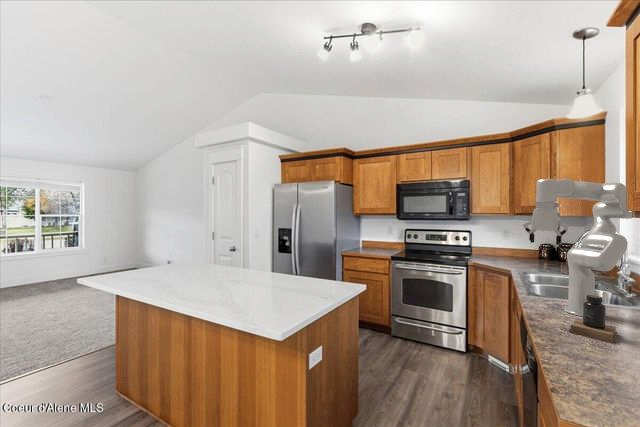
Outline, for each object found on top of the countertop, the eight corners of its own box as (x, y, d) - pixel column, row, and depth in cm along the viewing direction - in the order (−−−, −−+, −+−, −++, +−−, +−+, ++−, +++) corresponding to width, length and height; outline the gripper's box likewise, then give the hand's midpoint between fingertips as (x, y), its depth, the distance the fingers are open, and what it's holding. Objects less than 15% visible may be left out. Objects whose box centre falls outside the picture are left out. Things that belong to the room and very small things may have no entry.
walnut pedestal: (575, 324, 131) (575, 317, 130) (617, 334, 121) (617, 327, 121) (568, 332, 122) (569, 324, 122) (613, 343, 112) (613, 335, 112)
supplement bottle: (609, 330, 117) (610, 299, 117) (589, 328, 119) (590, 298, 118) (597, 323, 124) (598, 294, 124) (578, 322, 125) (579, 293, 125)
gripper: (572, 206, 133) (570, 244, 133) (526, 206, 146) (525, 241, 147) (568, 206, 128) (566, 246, 129) (521, 206, 141) (520, 242, 142)
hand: (544, 243), depth 138 cm, fingers open, 9 cm apart
